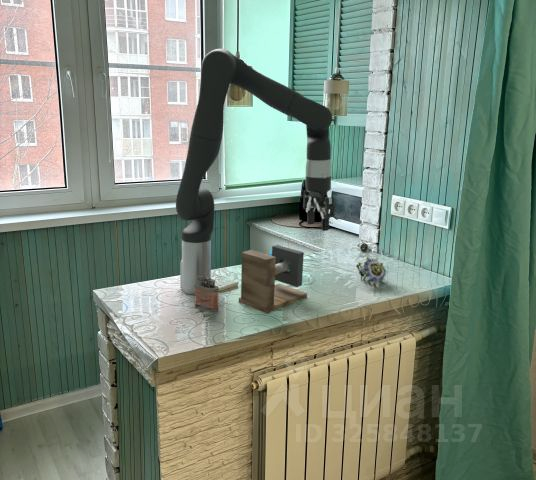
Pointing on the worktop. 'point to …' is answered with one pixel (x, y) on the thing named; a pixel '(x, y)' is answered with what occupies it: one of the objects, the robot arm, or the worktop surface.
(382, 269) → the passion flower
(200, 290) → the lighter
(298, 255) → the panel
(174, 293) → the worktop surface
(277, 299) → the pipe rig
